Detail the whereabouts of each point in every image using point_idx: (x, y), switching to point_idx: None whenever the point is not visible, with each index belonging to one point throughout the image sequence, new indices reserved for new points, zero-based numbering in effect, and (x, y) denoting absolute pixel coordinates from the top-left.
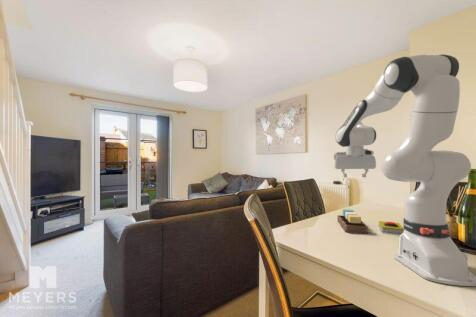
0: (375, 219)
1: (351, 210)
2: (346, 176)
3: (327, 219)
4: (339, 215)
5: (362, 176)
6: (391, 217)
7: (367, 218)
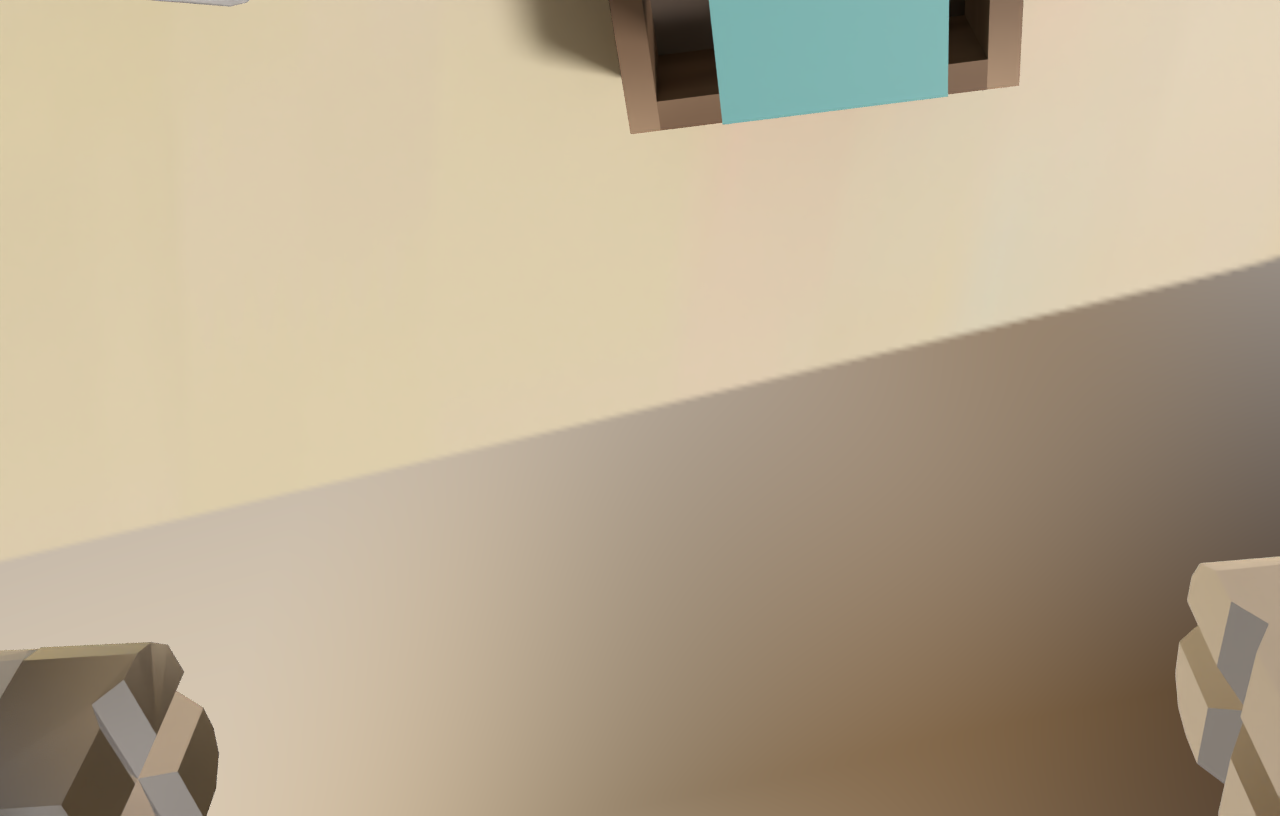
0: (307, 340)
1: (752, 26)
2: (1255, 577)
3: (1168, 109)
4: (976, 84)
5: (191, 737)
6: (86, 506)
7: (428, 366)
